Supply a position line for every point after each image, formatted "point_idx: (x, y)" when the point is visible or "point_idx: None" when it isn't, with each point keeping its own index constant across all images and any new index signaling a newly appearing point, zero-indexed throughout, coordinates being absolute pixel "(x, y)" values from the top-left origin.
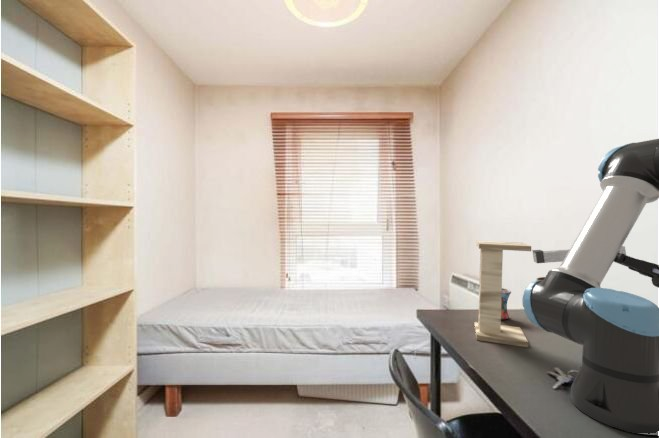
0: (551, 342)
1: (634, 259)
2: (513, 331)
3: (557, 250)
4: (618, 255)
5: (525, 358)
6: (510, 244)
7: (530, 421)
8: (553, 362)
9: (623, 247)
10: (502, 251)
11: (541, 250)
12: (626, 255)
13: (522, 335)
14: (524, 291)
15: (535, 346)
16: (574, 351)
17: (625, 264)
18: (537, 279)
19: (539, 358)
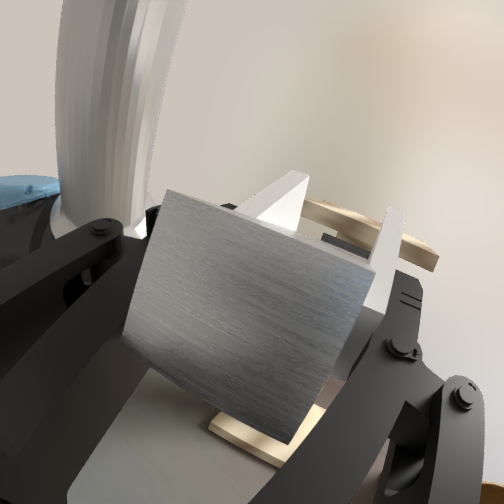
0: (232, 497)
1: (19, 270)
2: (278, 442)
3: (359, 256)
4: (128, 242)
5: (162, 385)
6: (338, 209)
7: None
8: (133, 406)
9: (175, 206)
10: (338, 231)
11: (342, 240)
12: (74, 230)
13: (252, 441)
14: None
15: (211, 445)
16: (168, 496)
17: (69, 304)
18: (495, 483)
19: (155, 402)
